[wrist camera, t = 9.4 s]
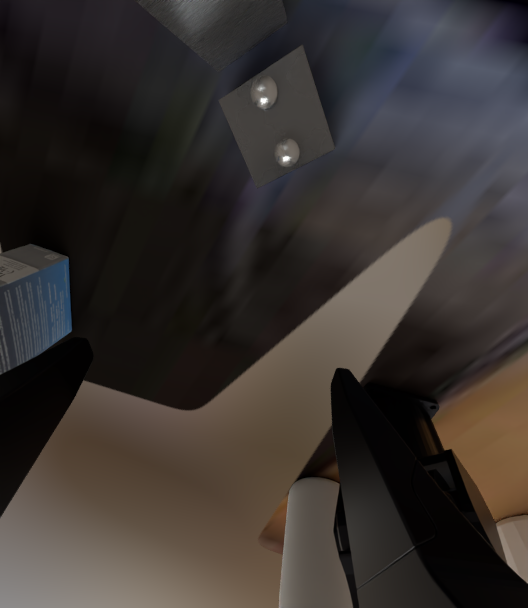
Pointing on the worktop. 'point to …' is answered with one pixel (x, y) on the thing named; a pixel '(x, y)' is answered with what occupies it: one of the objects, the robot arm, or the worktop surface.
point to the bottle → (515, 543)
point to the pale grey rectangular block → (219, 25)
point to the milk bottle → (312, 549)
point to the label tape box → (32, 303)
